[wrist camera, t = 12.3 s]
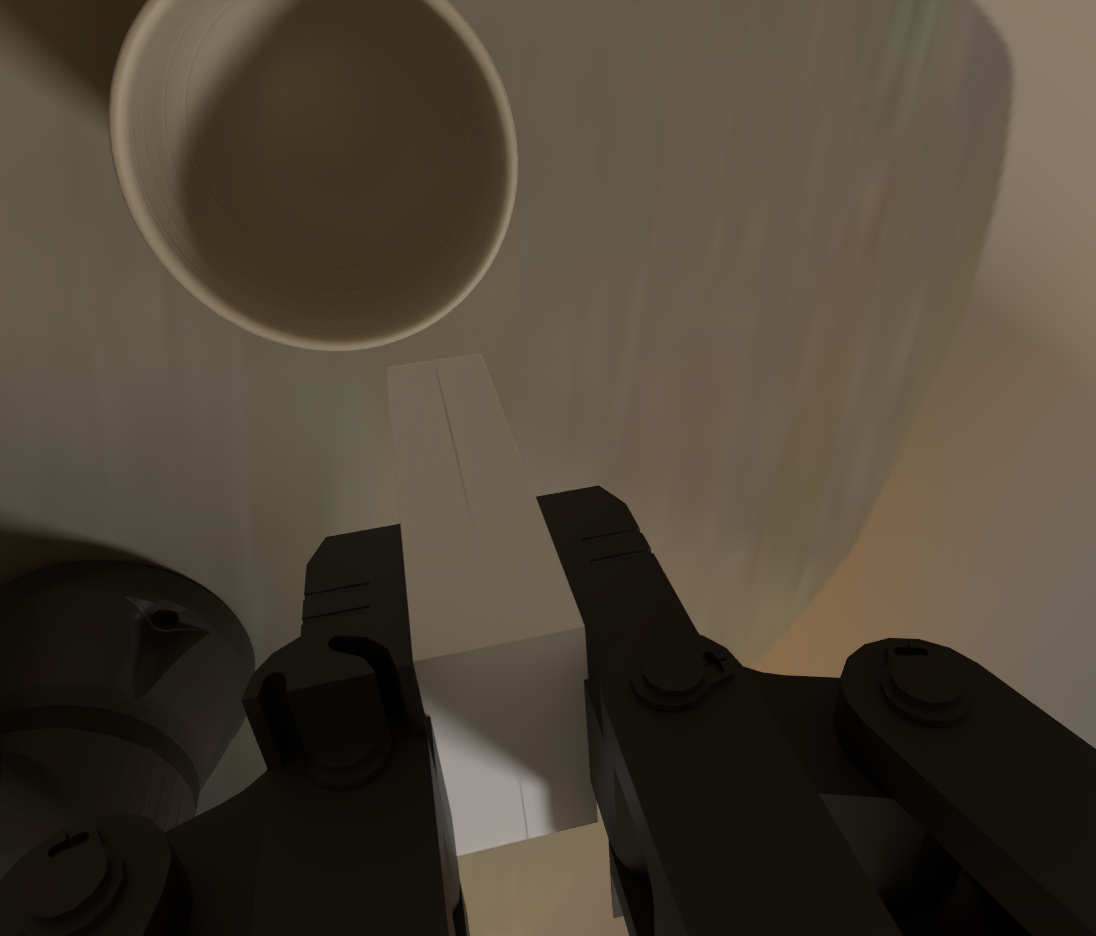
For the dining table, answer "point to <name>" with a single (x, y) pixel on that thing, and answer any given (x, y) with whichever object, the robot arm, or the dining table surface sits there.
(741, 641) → the dining table surface
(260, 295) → the planter
